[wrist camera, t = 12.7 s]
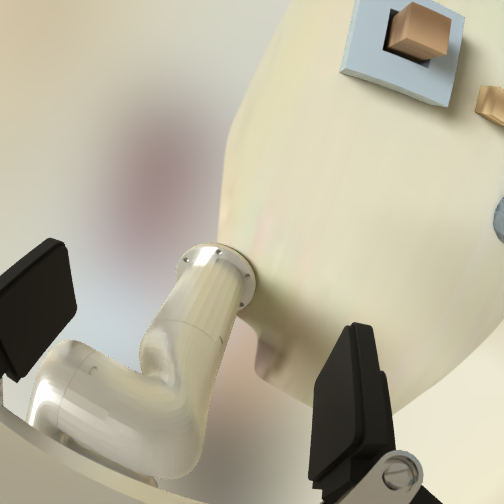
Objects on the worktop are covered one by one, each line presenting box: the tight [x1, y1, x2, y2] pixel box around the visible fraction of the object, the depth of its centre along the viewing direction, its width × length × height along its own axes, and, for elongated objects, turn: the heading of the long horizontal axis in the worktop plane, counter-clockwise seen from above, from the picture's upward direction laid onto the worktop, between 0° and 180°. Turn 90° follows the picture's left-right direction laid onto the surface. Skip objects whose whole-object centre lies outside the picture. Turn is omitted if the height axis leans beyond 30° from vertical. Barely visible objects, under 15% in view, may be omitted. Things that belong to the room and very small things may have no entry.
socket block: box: [340, 0, 465, 107], centre depth 26 cm, size 12×12×6 cm
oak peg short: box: [475, 86, 504, 126], centre depth 26 cm, size 4×4×5 cm
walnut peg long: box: [382, 2, 452, 63], centre depth 23 cm, size 4×4×12 cm
